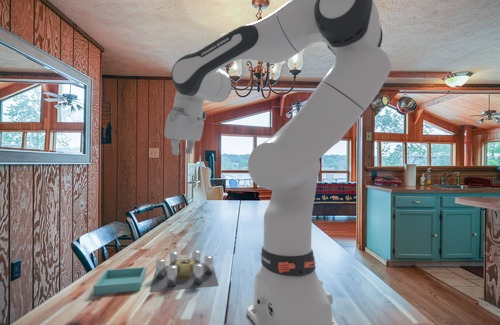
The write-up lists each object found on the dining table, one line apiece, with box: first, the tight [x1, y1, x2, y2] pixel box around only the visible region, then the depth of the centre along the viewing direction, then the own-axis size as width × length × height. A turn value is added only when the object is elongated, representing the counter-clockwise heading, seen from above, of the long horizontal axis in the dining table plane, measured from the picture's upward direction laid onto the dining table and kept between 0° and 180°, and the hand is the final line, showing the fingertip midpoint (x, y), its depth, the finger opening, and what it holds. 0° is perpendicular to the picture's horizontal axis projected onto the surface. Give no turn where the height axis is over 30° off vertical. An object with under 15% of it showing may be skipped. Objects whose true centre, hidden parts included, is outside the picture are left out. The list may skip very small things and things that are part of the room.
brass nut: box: [175, 258, 195, 279], centre depth 80 cm, size 6×5×4 cm
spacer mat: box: [149, 262, 220, 293], centre depth 80 cm, size 18×18×1 cm
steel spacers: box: [155, 249, 214, 287], centre depth 80 cm, size 15×17×5 cm
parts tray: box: [93, 266, 147, 297], centre depth 75 cm, size 11×11×2 cm
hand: (182, 154), depth 85 cm, fingers open, 8 cm apart
